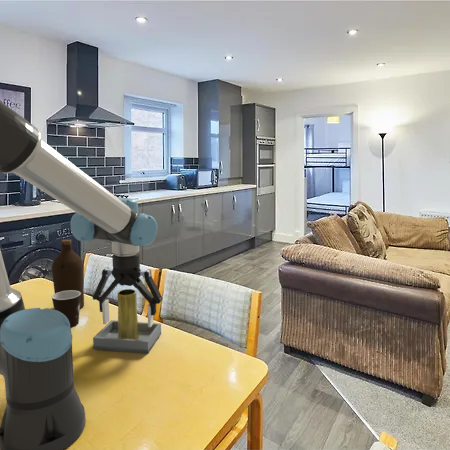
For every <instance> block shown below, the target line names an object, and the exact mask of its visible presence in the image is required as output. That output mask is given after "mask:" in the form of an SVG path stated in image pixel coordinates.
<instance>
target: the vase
mask: <svg viewBox="0 0 450 450" xmlns="http://www.w3.org/2000/svg"><path fill="white" fill-rule="evenodd" d="M137 305H138V303H137V290H135V289H132V288H126V289H121V290H119V291H118V292H117V321H118V338H122V339H136V340H137V339H138V338H139V333H138V322H139V321H138V307H137Z"/></svg>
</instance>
